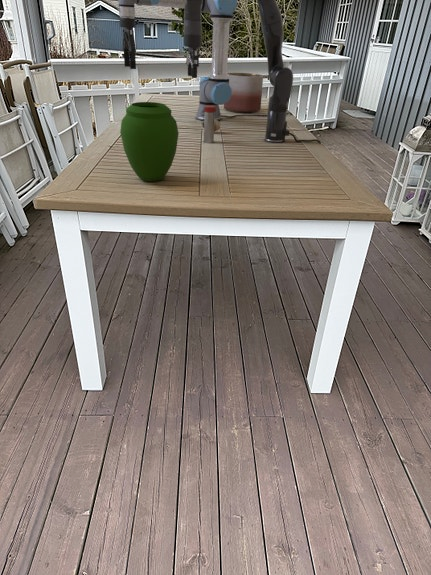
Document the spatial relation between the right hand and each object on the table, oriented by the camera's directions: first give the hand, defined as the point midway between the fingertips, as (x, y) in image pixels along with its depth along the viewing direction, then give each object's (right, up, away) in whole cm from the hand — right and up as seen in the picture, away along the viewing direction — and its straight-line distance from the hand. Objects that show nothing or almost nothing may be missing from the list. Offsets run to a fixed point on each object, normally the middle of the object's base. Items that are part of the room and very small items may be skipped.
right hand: (192, 76), depth 179 cm
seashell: (+8, -10, +38) cm, 40 cm away
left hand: (-33, +20, +29) cm, 48 cm away
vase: (-13, -53, -33) cm, 64 cm away
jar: (+7, -21, +20) cm, 30 cm away
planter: (+28, +30, +103) cm, 111 cm away
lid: (+8, -8, +11) cm, 16 cm away
